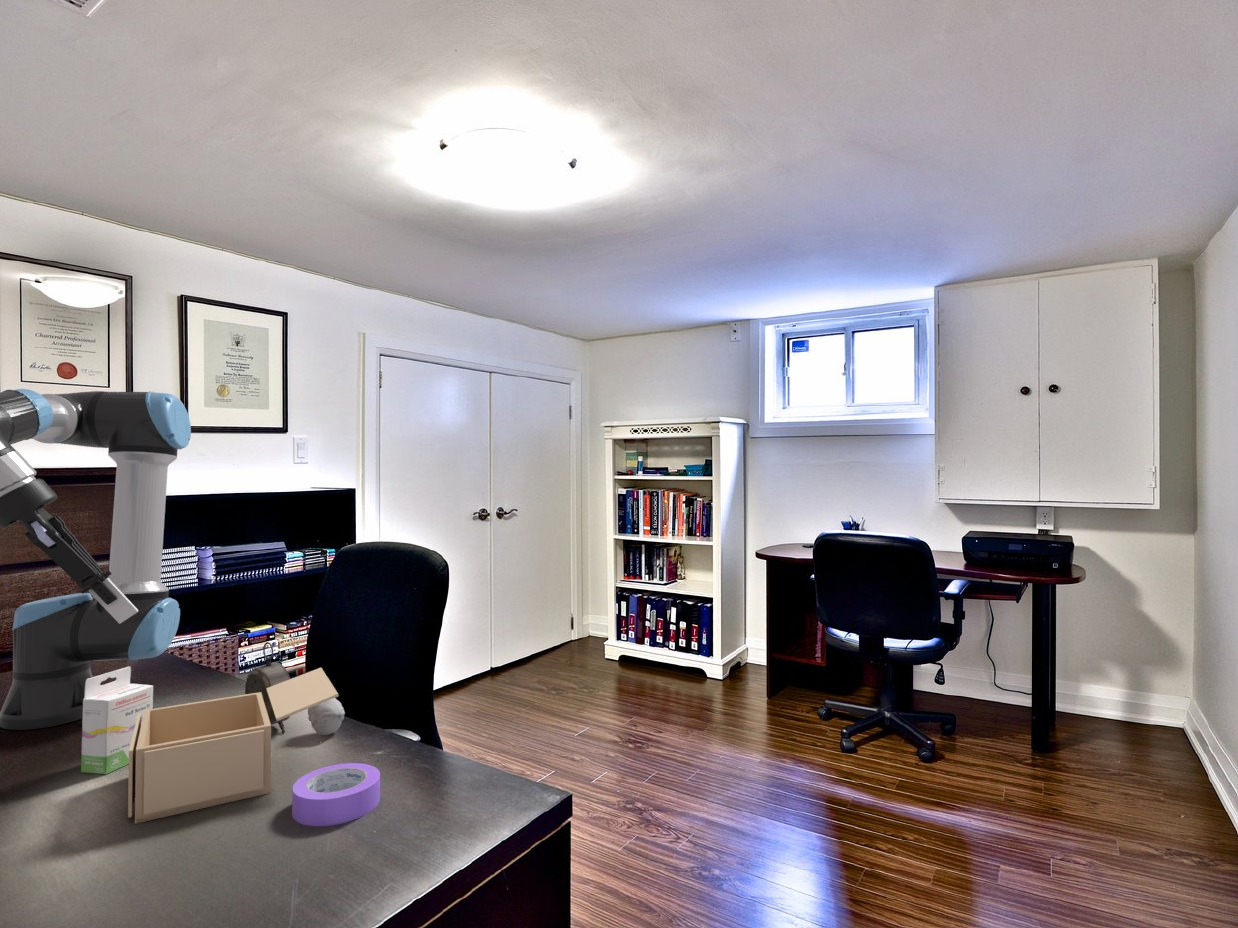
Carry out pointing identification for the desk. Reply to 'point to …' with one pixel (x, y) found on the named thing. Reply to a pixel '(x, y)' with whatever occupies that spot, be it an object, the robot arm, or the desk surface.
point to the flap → (300, 693)
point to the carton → (199, 756)
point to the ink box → (111, 720)
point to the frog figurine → (326, 716)
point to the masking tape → (335, 794)
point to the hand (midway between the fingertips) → (128, 616)
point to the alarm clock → (267, 683)
